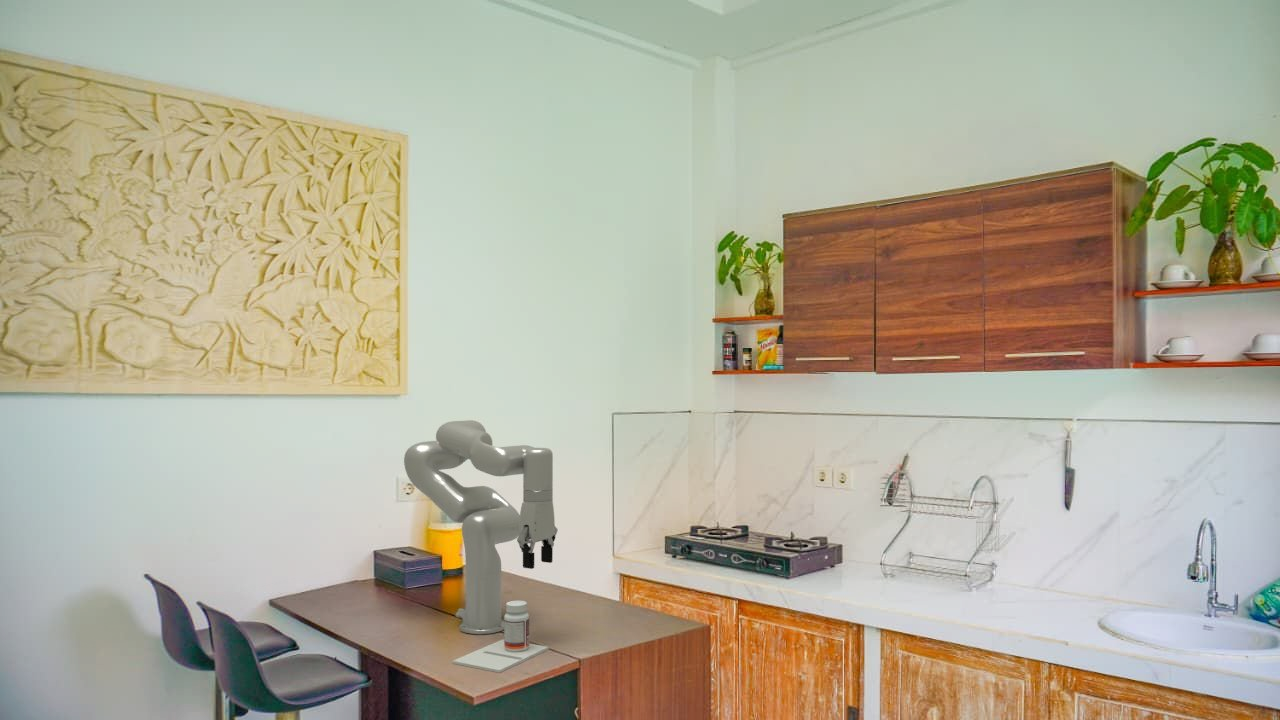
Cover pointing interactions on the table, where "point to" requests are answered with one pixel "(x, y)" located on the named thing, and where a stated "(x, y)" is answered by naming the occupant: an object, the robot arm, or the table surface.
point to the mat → (498, 657)
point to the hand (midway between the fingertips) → (537, 564)
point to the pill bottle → (516, 626)
